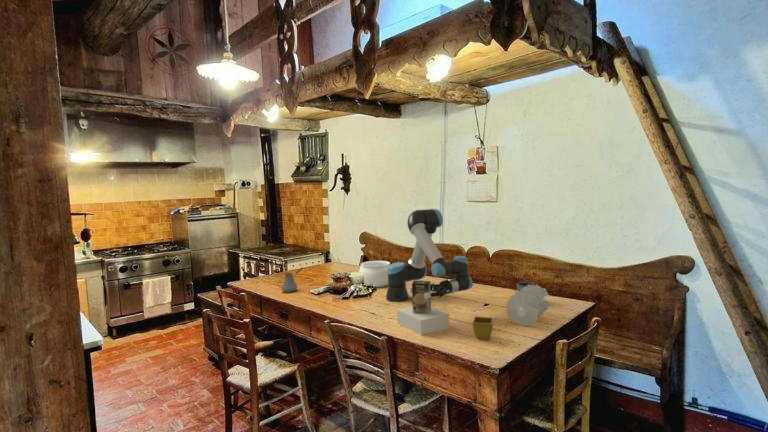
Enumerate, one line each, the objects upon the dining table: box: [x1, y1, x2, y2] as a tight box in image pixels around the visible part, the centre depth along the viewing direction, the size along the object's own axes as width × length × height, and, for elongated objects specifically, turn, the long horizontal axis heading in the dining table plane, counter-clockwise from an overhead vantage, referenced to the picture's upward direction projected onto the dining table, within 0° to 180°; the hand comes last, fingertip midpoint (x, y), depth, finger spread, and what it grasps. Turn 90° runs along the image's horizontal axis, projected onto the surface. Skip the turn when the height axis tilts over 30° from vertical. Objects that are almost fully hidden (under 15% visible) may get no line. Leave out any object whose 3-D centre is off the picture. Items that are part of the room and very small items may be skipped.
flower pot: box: [472, 316, 494, 341], centre depth 193 cm, size 9×9×9 cm
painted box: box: [396, 305, 450, 336], centre depth 214 cm, size 22×18×8 cm
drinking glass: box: [516, 281, 535, 292], centre depth 246 cm, size 10×10×12 cm
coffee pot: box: [281, 267, 304, 293], centre depth 301 cm, size 21×12×15 cm, turn 148°
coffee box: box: [411, 280, 432, 314], centre depth 212 cm, size 9×6×16 cm
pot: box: [358, 260, 391, 288], centre depth 308 cm, size 29×26×16 cm
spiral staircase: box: [506, 283, 549, 327], centre depth 214 cm, size 18×18×25 cm
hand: (417, 293), depth 211 cm, fingers open, 13 cm apart
